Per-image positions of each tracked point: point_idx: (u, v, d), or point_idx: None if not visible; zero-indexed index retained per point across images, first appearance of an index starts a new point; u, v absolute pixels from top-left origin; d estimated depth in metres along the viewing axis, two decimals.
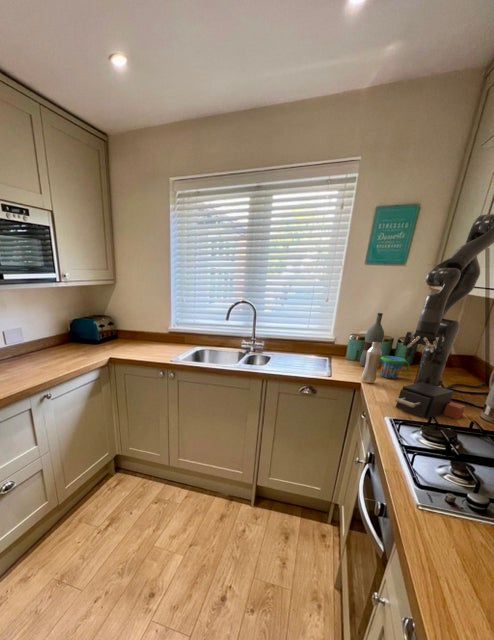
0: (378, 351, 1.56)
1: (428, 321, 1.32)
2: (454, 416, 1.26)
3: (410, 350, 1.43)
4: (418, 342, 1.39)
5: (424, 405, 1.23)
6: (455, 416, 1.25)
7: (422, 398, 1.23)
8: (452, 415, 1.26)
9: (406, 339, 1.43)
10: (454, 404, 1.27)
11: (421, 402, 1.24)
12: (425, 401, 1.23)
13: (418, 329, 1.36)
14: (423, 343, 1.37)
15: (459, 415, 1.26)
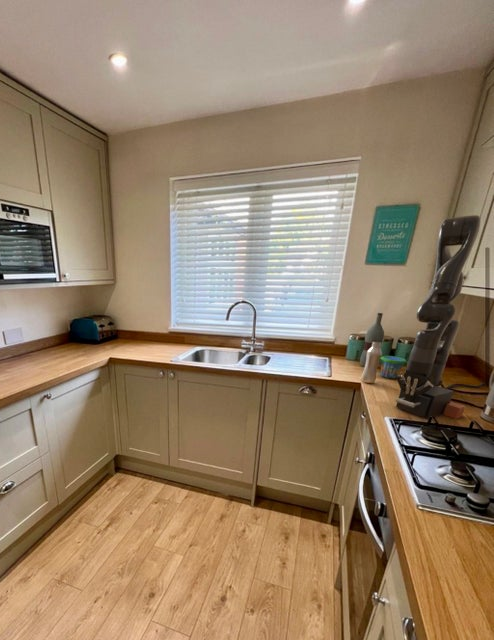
0: (378, 351, 1.56)
1: (419, 361, 1.17)
2: (454, 416, 1.26)
3: None
4: (413, 383, 1.22)
5: (424, 405, 1.23)
6: (455, 416, 1.25)
7: (422, 398, 1.23)
8: (452, 415, 1.26)
9: (400, 384, 1.26)
10: (454, 404, 1.27)
11: (421, 402, 1.24)
12: (425, 401, 1.23)
13: (408, 369, 1.21)
14: None
15: (459, 415, 1.26)
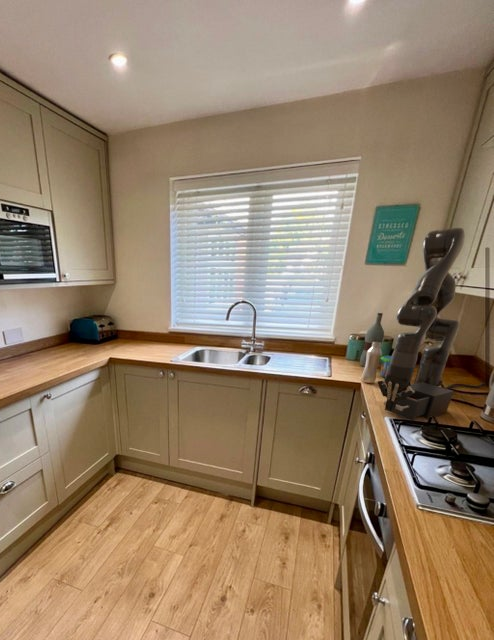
0: (378, 351, 1.56)
1: (400, 366, 1.12)
2: None
3: None
4: (394, 388, 1.17)
5: (413, 408, 1.20)
6: None
7: (411, 401, 1.20)
8: None
9: (382, 389, 1.21)
10: None
11: (410, 405, 1.21)
12: (414, 404, 1.19)
13: (389, 374, 1.16)
14: None
15: None
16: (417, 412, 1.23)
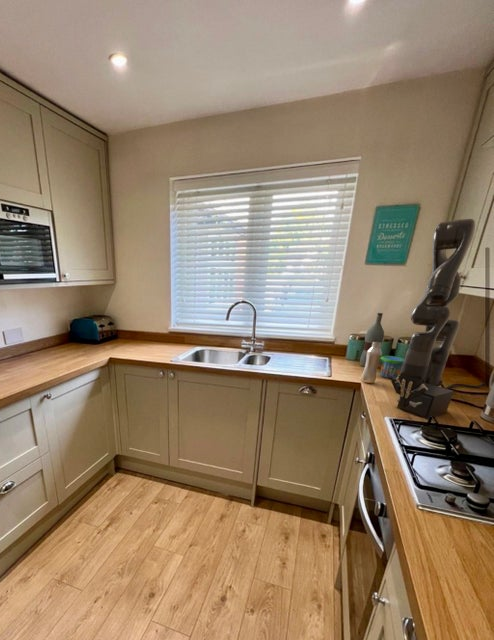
0: (378, 351, 1.56)
1: (414, 364, 1.16)
2: None
3: None
4: (407, 385, 1.21)
5: (426, 405, 1.24)
6: None
7: (424, 398, 1.24)
8: None
9: (395, 387, 1.25)
10: None
11: (423, 402, 1.24)
12: (427, 401, 1.23)
13: (403, 372, 1.20)
14: None
15: None
16: None
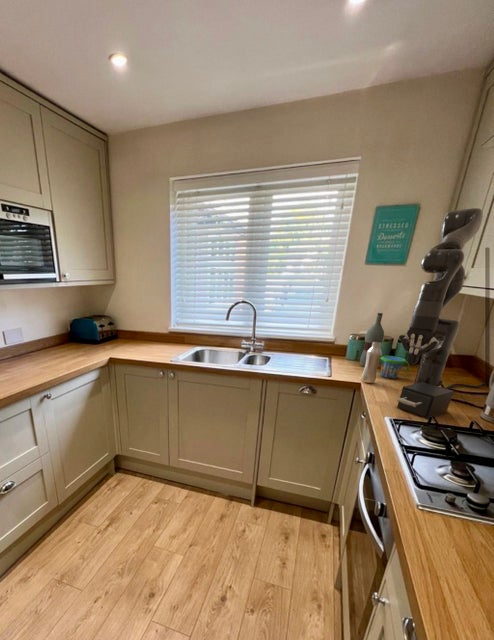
0: (378, 351, 1.56)
1: (424, 315, 1.08)
2: None
3: None
4: (417, 340, 1.14)
5: (425, 405, 1.24)
6: None
7: (424, 398, 1.24)
8: None
9: (404, 343, 1.17)
10: None
11: (423, 402, 1.24)
12: (427, 401, 1.23)
13: (412, 325, 1.12)
14: None
15: None
16: None
